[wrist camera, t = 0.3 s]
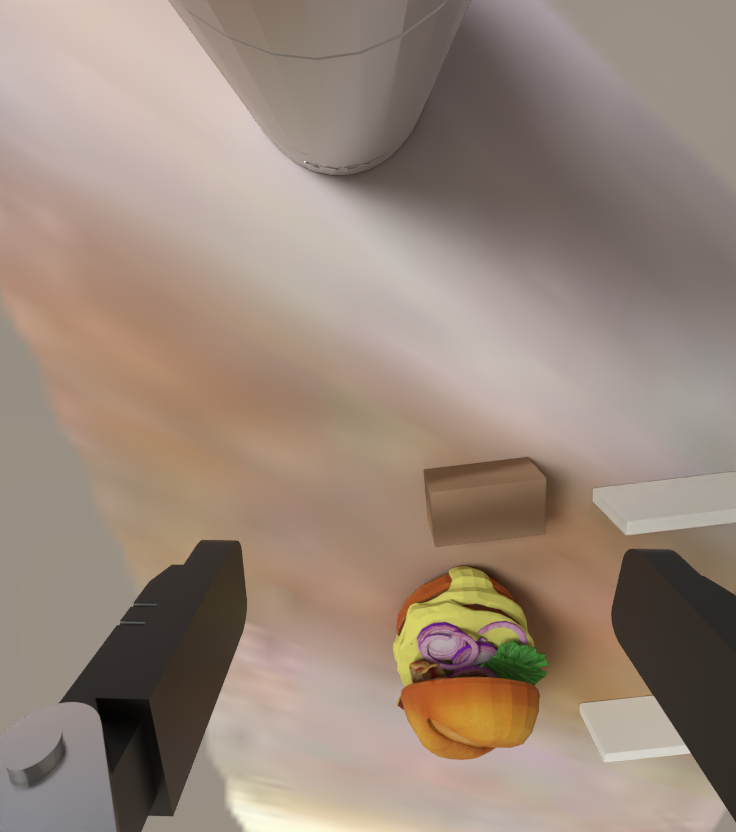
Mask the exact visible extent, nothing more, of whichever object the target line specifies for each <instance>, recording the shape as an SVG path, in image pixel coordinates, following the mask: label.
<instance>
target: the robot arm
mask: <svg viewBox="0 0 736 832" xmlns="http://www.w3.org/2000/svg"><path fill="white" fill-rule="evenodd" d="M168 1H169V2H170V4H171V5H172V6H173V8H174V9H175V10H176V12H177V13H178V15H179V16H180V17H181V19H182V20H183V21H184V23H185V24H186V25H187V27H188V28H189V30H190V31H191V32H192V34H193V35H194V36H195V38H196V39H197V41H198V42H199V43H200V45H201V46H202V47H203V49H204V50H205V52H206V53H207V54H208V56H209V57H210V58H211V60H212V61H213V63H214V64H215V65H216V67H217V68H218V69H219V71H220V72H221V74H222V75H223V76H224V78H225V79H226V80H227V82H228V83H229V85H230V86H231V87H232V89H233V90H234V91H235V93H236V94H237V96H238V97H239V98H240V100H241V101H242V102H243V104H244V105H245V107H246V108H247V110H248V111H249V112H250V114H251V115H252V116H253V118H254V119H255V121H256V122H257V123H258V125H259V126H260V127H261V129H262V130H263V131H264V133H265V134H266V135H267V136H268V138H269V139H270V140H271V141H272V142H273V143H274V144H275V146H276V147H277V148H278V149H279V150H280V151H281V152H282V153H284V154H285V155H286V156H288V157H289V158H290V159H291V160H293V161H294V162H295V163H297V164H299V165H301V166H303V167H306V168H308V169H310V170H312V171H315V172H319V173H324V174H328V175H351V174H355V173H359V172H362V171H366V170H369V169H371V168H373V167H374V166H376V165H378V164H380V163H382V162H384V161H385V160H386V159H388V158H389V157H390V156H391V155H392V154H393V153H395V152H396V151H397V150H398V149H399V148H400V147H401V146H402V144H403V143H404V142H405V140H406V139H407V138H408V136H409V135H410V134H411V133H412V131H413V129H414V127H415V125H416V123H417V121H418V119H419V117H420V115H421V113H422V111H423V108H424V106H425V104H426V101H427V99H428V97H429V95H430V93H431V91H432V88H433V86H434V84H435V82H436V79H437V77H438V75H439V72H440V70H441V68H442V66H443V63H444V61H445V59H446V56H447V54H448V52H449V49H450V47H451V45H452V43H453V40H454V38H455V36H456V33H457V31H458V29H459V26H460V24H461V22H462V20H463V17H464V15H465V13H466V10H467V8H468V6H469V3H470V1H471V0H168ZM246 612H247V597H246V587H245V578H244V568H243V558H242V549H241V545H240V543H239V541H231V540H201V541H200V542H199V543H198V544H197V546H196V547H195V549H194V550H193V552H192V553H191V555H190V556H189V558H188V559H187V561H186V562H185V564H184V565H171V566H170V567H168V568H167V569H166V570H164V571H163V572H162V573H160V574H159V575H158V576H156V577H155V578H154V579H152V580H151V581H150V582H149V583H148V584H147V585H146V587H145V588H144V590H143V591H142V592H141V594H140V595H139V596H138V598H137V599H136V600H135V602H134V606H133V607H130V608H129V610H128V611H127V612H126V614H125V615H124V617H123V618H122V619H121V622H120V625H118V626H116V627H115V629H114V630H113V631H112V633H111V634H110V636H109V637H108V638H107V639H106V641H105V642H104V644H103V645H102V646H101V648H100V649H99V650H98V651H97V653H96V654H95V656H94V657H93V658H92V660H91V661H90V662H89V664H88V665H87V666H86V668H85V669H84V670H83V672H82V673H81V674H80V676H79V677H78V679H77V680H76V681H75V682H74V684H73V685H72V686H71V688H70V689H69V690H68V692H67V693H66V695H65V696H64V697H63V699H62V700H61V701H60V702H59V703H58V704H55V705H52V706H48V707H45V708H43V709H40V710H38V711H36V712H34V713H32V714H30V715H28V716H26V717H24V718H23V719H21V720H20V721H18V722H16V723H15V724H13V725H12V726H11V727H9V728H8V729H6V730H5V731H4V732H3V733H2V734H0V832H141V831H142V829H143V826H144V824H145V822H146V819H147V817H148V816H149V815H150V816H173V815H174V812H175V810H176V807H177V805H178V802H179V799H180V796H181V794H182V791H183V789H184V786H185V783H186V780H187V778H188V775H189V773H190V770H191V768H192V765H193V762H194V760H195V757H196V754H197V752H198V749H199V746H200V744H201V741H202V738H203V736H204V733H205V731H206V728H207V725H208V723H209V720H210V717H211V715H212V712H213V709H214V707H215V704H216V701H217V699H218V696H219V693H220V691H221V688H222V686H223V683H224V680H225V678H226V675H227V672H228V670H229V667H230V664H231V662H232V659H233V656H234V654H235V651H236V649H237V646H238V643H239V641H240V638H241V635H242V632H243V629H244V625H245V620H246ZM611 616H612V625H613V629H614V632H615V635H616V638H617V640H618V642H619V643H620V645H621V647H622V648H623V650H624V651H625V653H626V654H627V656H628V657H629V659H630V660H631V662H632V663H633V665H634V666H635V668H636V670H637V671H638V673H639V674H640V676H641V677H642V679H643V680H644V682H645V683H646V685H647V686H648V688H649V690H650V691H651V693H652V694H653V696H654V697H655V699H656V700H657V702H658V703H659V705H660V706H661V708H662V709H663V711H664V713H665V714H666V716H667V717H668V719H669V720H670V722H671V723H672V725H673V726H674V728H675V729H676V731H677V732H678V734H679V736H680V737H681V739H682V740H683V742H684V743H685V745H686V746H687V748H688V749H689V751H690V752H691V754H692V756H693V757H694V759H695V760H696V762H697V763H698V765H699V766H700V768H701V769H702V771H703V772H704V774H705V775H706V777H707V779H708V780H709V782H710V783H711V785H712V786H713V788H714V789H715V791H716V792H717V794H718V795H719V797H720V798H721V800H722V802H723V803H724V805H725V806H726V808H727V809H728V811H729V812H730V814H731V815H732V817H733V818H734V820H735V822H736V595H734V594H733V593H731V592H729V591H728V590H726V589H724V588H723V587H721V586H719V585H718V584H716V583H714V582H713V581H711V580H709V579H708V578H706V577H704V576H701V575H700V574H699V573H698V572H697V571H696V570H694V569H693V568H692V567H691V566H690V565H689V564H688V563H687V562H686V561H685V560H684V559H683V558H682V557H681V556H679V555H678V554H677V553H676V552H674V551H673V550H669V549H629V550H628V551H627V552H626V553H625V555H624V557H623V561H622V566H621V570H620V574H619V579H618V583H617V588H616V592H615V597H614V601H613V606H612V613H611Z"/></svg>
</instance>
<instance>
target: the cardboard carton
mask: <svg viewBox="0 0 736 832" xmlns="http://www.w3.org/2000/svg"><path fill="white" fill-rule="evenodd" d="M424 480H425V491H426V502H427V513H428V522H429V526H430V529H431V533H432V537H433V540H434V544H435V547H441V546H450V545H458V544H467V543H475V542H484V541H492V540H501V539H509V538H518V537H526V536H535V535H543V534H545V525H546V477H545V476H544V475H543V474H542V473H541V472H540V471H539V469H538V468H537V467H536V466H535V465H534V464H533V462H532V461H531V460H530V459H529V458H528V457H525V458H516V459H508V460H500V461H492V462H483V463H475V464H467V465H459V466H451V467H442V468H434V469H426V470H424Z"/></svg>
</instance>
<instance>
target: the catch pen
mask: <svg viewBox="0 0 736 832" xmlns="http://www.w3.org/2000/svg"><path fill="white" fill-rule="evenodd" d="M592 501H593V502H594V503H595V504H596V505H597V506H598V507H599V508H600V509H601V510H602V511H603V512H604V513H605V514H606V515H607V516H608V517H609V518H610V519H611V521H612V522H613V523H614V524H615V525H616V526H617V527H618V528H619V529H620V530H621V531H622V532H623V533H624V534H625V535H633V534H642V533H650V532H659V531H668V530H676V529H685V528H693V527H702V526H710V525H719V524H727V523H736V471H734V472H725V473H717V474H709V475H700V476H692V477H684V478H675V479H667V480H659V481H650V482H642V483H634V484H625V485H617V486H608V487H600V488H593V500H592ZM580 714H581V716H582V718H583V720H584V722H585V724H586V726H587V728H588V730H589V732H590V734H591V736H592V738H593V740H594V742H595V744H596V746H597V748H598V750H599V752H600V755H601V757H602V759H603V761H604V762H613V761H623V760H632V759H641V758H651V757H660V756H670V755H679V754H689V753H691V752H690V751H689V749H688V748H687V746H686V745H685V743H684V742H683V740H682V739H681V737H680V736H679V734H678V732H677V731H676V729H675V728H674V726H673V725H672V723H671V722H670V720H669V719H668V717H667V716H666V714H665V713H664V711H663V709H662V708H661V706H660V705H659V703H658V702H657V700H656V699H655V697H654V696H644V697H635V698H626V699H616V700H607V701H598V702H589V703H580Z"/></svg>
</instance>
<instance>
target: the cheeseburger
mask: <svg viewBox="0 0 736 832" xmlns="http://www.w3.org/2000/svg"><path fill="white" fill-rule="evenodd" d="M393 652H394V657H395V660H396V661H397V662H398V672H399V673H400V676H401V681H402V683H403V684H404V686H405V688H404V689H402V692H401V696H400V697H399V699H398V702H397V706H399V707H400V708H402V709H404V710H405V713H406V716H407V719H408V722H409V723H410V725H411V727H412V728H413V730H414V731H415V733H416V735H417V736H418V738H419V740H420V741H421V743H422V745H423V746H424V747H425V748H426V749H428V750H429V751H430V752H432V753H433V754H435V755H437V756H439V757H443V758H447V759H459V760H464V759H473V758H478V757H480V756H482V755H484V754H486V753H488V752H490V751H492V750H493V749H495V748H497V747H503V748H511V747H514V746H518V745H521V744H523V743H524V742H525V741H526V739H527V738H528V737H529V736H530V734H531V733H532V731H533V727H534V724H535V721H536V718H537V715H538V712H539V697H540V694H539V691H538V689H537V688H536V687H535V686H534V685H535V684H536V683H537V682H538V681H539V680H540V679H542V678H543V677H545V676H546V675H547V672H545V671H543V670H540V669H537V668H541V667H544V666H548V665H549V662H547V661H546V657H545V654H543V653H537V652H536V649H535V646H534V641H533V639H532V638H531V636H530V635H529V634H528V629H527V622H526V618H525V615H524V613H523V611H522V609H521V607H520V606H519V605H517V603H516V601H515V599H514V598H513V596H512V595H511V594H510V592H509V591H508V590H507V589H506V588H505V587H503V586H502V585H500V584H499V583H498V582H496V581H495V580H494V579H492V578H491V577H488V576H487V575H486V574H485V573H484V572H482V571H480V570H478V569H475V568H471V567H468V566H458V567H454V568H452V569H450V570H449V574H448V575H443V576H441V577H439V578H437V579H435V580H433V581H431V582H429V583H427V584H424V585H423V586H421V587H420V588H419V589H418V590H417V591H416V592H415V593H413V594H412V595H411V596H410V597H409V598H408V599H407V600H406V601H405V603H404V605H403V607H402V609H401V610H400V612H399V614H398V620H397V636H396V639H395V642H394V644H393Z"/></svg>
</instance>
